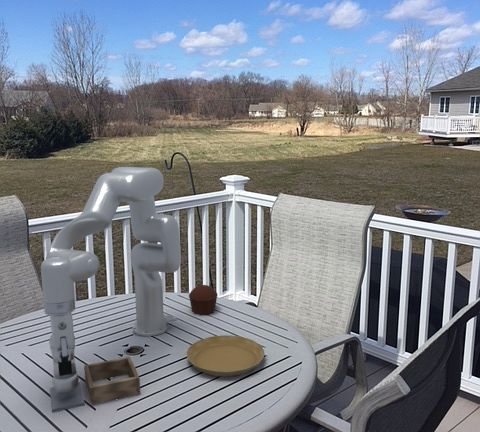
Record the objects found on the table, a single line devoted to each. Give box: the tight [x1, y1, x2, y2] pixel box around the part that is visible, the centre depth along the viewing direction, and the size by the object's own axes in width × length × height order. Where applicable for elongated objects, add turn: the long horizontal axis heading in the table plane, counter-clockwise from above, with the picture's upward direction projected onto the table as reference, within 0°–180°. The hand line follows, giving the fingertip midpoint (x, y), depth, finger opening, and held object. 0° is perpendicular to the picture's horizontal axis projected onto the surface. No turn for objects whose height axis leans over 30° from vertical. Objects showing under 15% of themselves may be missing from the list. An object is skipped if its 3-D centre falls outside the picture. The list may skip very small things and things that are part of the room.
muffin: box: [188, 284, 219, 316], centre depth 188 cm, size 12×11×10 cm
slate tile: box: [49, 381, 85, 413], centre depth 130 cm, size 8×11×1 cm
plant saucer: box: [186, 334, 265, 377], centre depth 150 cm, size 24×24×3 cm
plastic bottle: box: [48, 325, 80, 394], centre depth 128 cm, size 6×7×20 cm
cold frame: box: [83, 356, 141, 406], centre depth 134 cm, size 13×13×5 cm
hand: (64, 368), depth 128 cm, fingers closed on plastic bottle, 5 cm apart
